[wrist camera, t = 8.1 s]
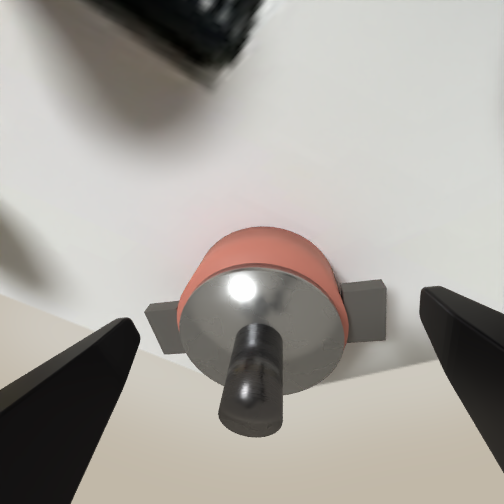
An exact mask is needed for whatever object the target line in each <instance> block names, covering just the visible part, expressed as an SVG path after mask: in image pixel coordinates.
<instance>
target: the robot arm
mask: <svg viewBox="0 0 504 504" xmlns="http://www.w3.org/2000/svg"><path fill="white" fill-rule="evenodd" d="M419 313H420V318H421V321H422V323H423V326H424V328H425V330H426V332H427V334H428V337H429V339H430V341H431V343H432V346H433V348H434V350H435V352H436V354H437V357H438V359H439V361H440V363H441V365H442V367H443V369H444V372H445V374H446V376H447V377H448V379H449V381H450V383H451V385H452V386H453V388H454V390H455V391H456V393H457V395H458V396H459V398H460V400H461V401H462V403H463V405H464V407H465V408H466V410H467V412H468V413H469V415H470V417H471V418H472V420H473V422H474V423H475V425H476V427H477V428H478V430H479V432H480V434H481V435H482V437H483V439H484V440H485V442H486V444H487V446H488V447H489V449H490V451H491V452H492V454H493V455H494V457H495V459H496V461H497V462H498V464H499V466H500V467H501V469H502V471H503V473H504V314H503V313H500V312H498V311H496V310H494V309H491V308H489V307H487V306H485V305H482V304H480V303H478V302H476V301H473V300H471V299H469V298H466V297H464V296H462V295H460V294H457V293H455V292H453V291H451V290H448V289H446V288H444V287H441V286H432V287H424V288H423V289H422V290H421V295H420V310H419ZM139 343H140V334H139V333H138V331H137V329H136V327H135V325H134V323H133V322H132V320H131V319H130V318H127V317H126V318H118V319H115V320H114V321H112V322H110V323H109V324H107V325H105V326H104V327H102V328H101V329H99V330H97V331H96V332H94V333H92V334H91V335H89V336H88V337H86V338H84V339H83V340H81V341H79V342H78V343H76V344H74V345H73V346H71V347H69V348H68V349H66V350H65V351H63V352H61V353H60V354H58V355H56V356H55V357H53V358H51V359H50V360H48V361H46V362H45V363H43V364H42V365H40V366H38V367H37V368H35V369H33V370H32V371H30V372H28V373H27V374H25V375H24V376H22V377H20V378H19V379H17V380H15V381H14V382H12V383H10V384H9V385H7V386H6V387H4V388H3V389H1V390H0V504H71V501H72V500H73V497H74V495H75V493H76V491H77V489H78V486H79V484H80V482H81V480H82V477H83V475H84V473H85V471H86V469H87V467H88V465H89V462H90V460H91V458H92V455H93V454H94V451H95V449H96V447H97V445H98V443H99V440H100V438H101V436H102V434H103V432H104V429H105V427H106V425H107V423H108V420H109V418H110V416H111V414H112V412H113V410H114V408H115V405H116V403H117V401H118V399H119V396H120V394H121V392H122V390H123V387H124V385H125V382H126V380H127V377H128V374H129V371H130V369H131V366H132V363H133V360H134V357H135V355H136V352H137V349H138V346H139Z"/></svg>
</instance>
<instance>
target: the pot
mask: <svg viewBox="0 0 504 504" xmlns="http://www.w3.org/2000/svg"><path fill="white" fill-rule="evenodd" d="M246 263H267V264H273V265H279V266H283V267H286V268H290V269H292V270H294V271H297V272H299V273H301V274H303V275H305V276H307V277H308V278H310V279H312V280H313V281H314V282H316V283H317V284H318V285H319V286H321V287H322V288H323V289H324V290H325V291H326V292H327V294H328V295H329V296H330V298H331V299H332V300H333V302H334V304H335V306H336V308H337V310H338V313H339V316H340V319H341V322H342V326H343V330H344V348H345V345H346V343H351V342H367V341H382V340H386V286H385V285H384V283H383V282H382V280H381V279H380V280H370V281H361V282H352V283H342V284H340V286H341V295H340V292H339V289H338V286H337V283H336V280H335V277H334V274H333V271H332V268H331V266H330V264H329V262H328V260H327V259H326V257H325V256H324V255H323V253H322V252H321V251H320V250H319V249H318V248H317V247H316V246H315V245H314V244H312V243H311V242H310V241H309V240H307V239H305V238H304V237H302V236H300V235H298V234H296V233H293V232H291V231H288V230H284V229H281V228H274V227H251V228H246V229H242V230H239V231H236V232H233V233H231V234H229V235H227V236H225V237H224V238H222V239H221V240H219V241H218V242H217V243H216V244H215V245H214V246H212V247H211V249H210V250H209V251H208V252H207V254H206V255H205V257H204V258H203V260H202V262H201V263H200V265H199V267H198V268H197V270H196V272H195V273H194V275H193V276H192V278H191V280H190V281H189V283H188V285H187V286H186V288H185V290H184V291H183V293H182V295H181V298H180V301H173V302H164V303H154V304H150V305H149V306H148V308H147V309H146V310H145V312H144V313H145V315H146V317H147V319H148V321H149V323H150V325H151V327H152V330H153V332H154V334H155V336H156V338H157V340H158V342H159V344H160V347H161V349H162V351H163V353H164V354H180V353H186V352H185V350H184V348H183V345H182V342H181V339H180V333H179V322H180V316H181V313H182V310H183V308H184V306H185V304H186V302H187V301H188V299H189V297H190V295H191V294H192V292H193V291H194V289H195V288H196V287H197V286H198V285H199V284H200V283H201V282H202V281H203V280H204V279H205V278H207V277H208V276H210V275H211V274H213V273H215V272H217V271H219V270H221V269H224V268H227V267H230V266H234V265H239V264H246ZM343 350H344V349H343Z"/></svg>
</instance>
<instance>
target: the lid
mask: <svg viewBox="0 0 504 504" xmlns="http://www.w3.org/2000/svg"><path fill="white" fill-rule="evenodd" d="M179 333H180V339H181V342H182V345H183V348H184V350H185V352H186V354H187V355H188V357H189V358H190V360H191V361H192V362H193V364H194V365H195V366H196V367H197V368H198V369H199V370H200V371H201V372H202V373H203V374H205V375H206V376H208V377H209V378H210V379H212V380H213V381H215V382H217V383H219V384H221V385H223V386H224V390H223V394H222V398H221V403H220V407H219V413H218V415H219V419H220V421H221V422H222V424H223V425H224V426H225V427H226V428H228V429H229V430H231V431H232V432H235V433H237V434H239V435H243V436H247V437H265V436H269V435H272V434H274V433H276V432H277V431H278V430H279V429H280V428H281V426H282V422H283V395H288V394H293V393H297V392H300V391H303V390H306V389H308V388H310V387H312V386H314V385H316V384H318V383H319V382H321V381H322V380H324V379H325V378H326V377H327V376H328V375H329V374H330V373H331V372H332V371H333V370H334V369H335V367H336V366H337V364H338V362H339V361H340V358H341V356H342V353H343V349H344V330H343V326H342V322H341V319H340V316H339V313H338V310H337V308H336V306H335V304H334V302H333V300H332V299H331V298H330V296H329V295H328V294H327V292H326V291H325V290H324V289H323V288H322V287H321V286H319V285H318V284H317V283H316V282H314V281H313V280H312V279H310V278H308V277H307V276H305V275H303V274H301V273H299V272H297V271H294V270H292V269H290V268H286V267H283V266H279V265H273V264H267V263H246V264H239V265H234V266H230V267H227V268H224V269H221V270H219V271H217V272H215V273H213V274H211V275H210V276H208V277H207V278H205V279H204V280H203V281H202V282H201V283H200V284H199V285H198V286H197V287H196V288H195V289H194V291H193V292H192V294H191V295H190V297H189V299H188V301H187V302H186V304H185V306H184V308H183V310H182V313H181V316H180V322H179Z"/></svg>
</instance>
